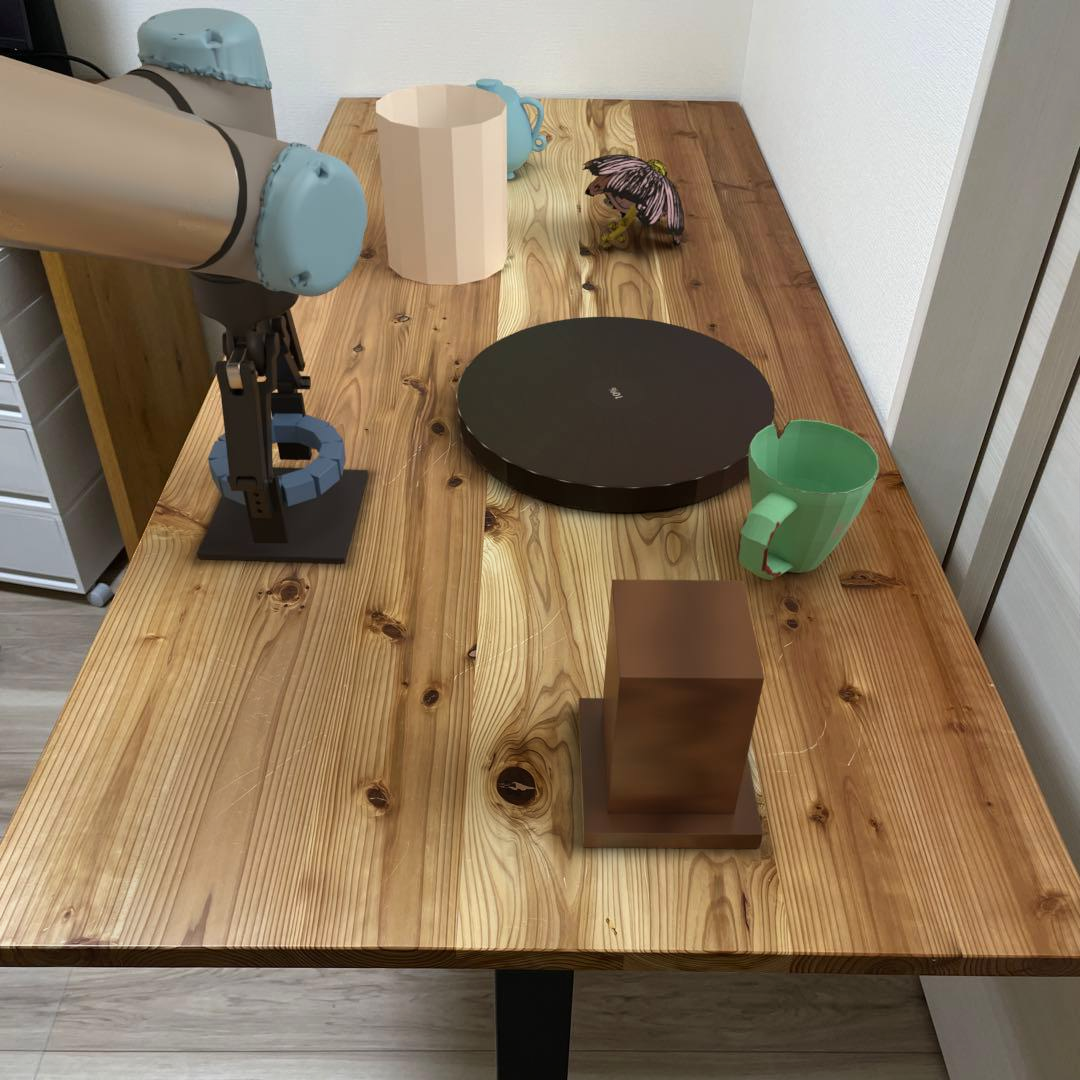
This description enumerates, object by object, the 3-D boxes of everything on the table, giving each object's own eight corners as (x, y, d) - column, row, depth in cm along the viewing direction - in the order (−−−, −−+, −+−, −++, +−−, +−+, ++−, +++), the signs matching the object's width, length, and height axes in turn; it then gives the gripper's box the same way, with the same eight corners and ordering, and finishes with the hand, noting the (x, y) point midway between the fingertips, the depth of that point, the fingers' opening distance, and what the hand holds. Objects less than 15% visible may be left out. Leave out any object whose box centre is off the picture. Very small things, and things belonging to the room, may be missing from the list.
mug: (765, 501, 93) (783, 405, 87) (871, 544, 89) (899, 446, 83) (682, 595, 84) (695, 494, 78) (797, 647, 80) (821, 546, 74)
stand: (583, 847, 67) (593, 697, 58) (578, 711, 75) (586, 562, 66) (759, 848, 67) (796, 699, 58) (734, 713, 75) (764, 563, 66)
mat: (345, 563, 87) (344, 558, 86) (198, 559, 87) (196, 553, 86) (368, 475, 96) (367, 469, 95) (235, 471, 96) (234, 465, 96)
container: (413, 294, 122) (402, 135, 110) (370, 245, 132) (355, 94, 120) (527, 270, 127) (527, 115, 116) (477, 224, 137) (473, 77, 125)
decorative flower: (724, 181, 123) (603, 144, 120) (692, 279, 128) (573, 247, 124) (692, 169, 137) (581, 135, 133) (663, 259, 141) (555, 228, 137)
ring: (199, 507, 84) (195, 488, 83) (229, 430, 92) (225, 412, 91) (334, 508, 84) (332, 490, 83) (352, 431, 92) (350, 413, 91)
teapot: (541, 196, 144) (542, 106, 136) (419, 191, 145) (413, 101, 137) (551, 142, 159) (552, 59, 152) (440, 138, 160) (436, 55, 152)
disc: (407, 383, 107) (405, 357, 106) (655, 315, 119) (657, 290, 117) (556, 556, 88) (557, 527, 86) (836, 454, 99) (842, 427, 97)
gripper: (260, 333, 67) (306, 590, 81) (318, 187, 85) (347, 420, 99) (140, 332, 67) (207, 590, 81) (223, 186, 85) (266, 419, 99)
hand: (284, 496), depth 90 cm, fingers closed on ring, 11 cm apart
